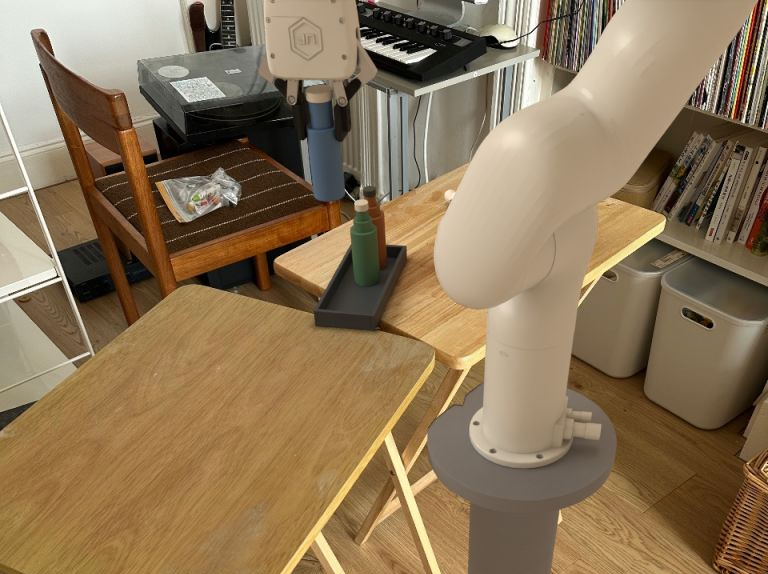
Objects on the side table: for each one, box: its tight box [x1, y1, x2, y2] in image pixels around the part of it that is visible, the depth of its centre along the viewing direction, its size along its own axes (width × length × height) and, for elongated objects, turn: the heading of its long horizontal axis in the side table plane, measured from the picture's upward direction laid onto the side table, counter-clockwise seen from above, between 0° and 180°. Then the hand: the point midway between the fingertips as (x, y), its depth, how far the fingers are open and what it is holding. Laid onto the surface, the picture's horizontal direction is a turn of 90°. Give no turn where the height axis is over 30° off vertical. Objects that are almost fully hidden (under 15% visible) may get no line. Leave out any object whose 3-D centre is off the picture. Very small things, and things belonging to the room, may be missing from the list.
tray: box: [312, 243, 408, 332], centre depth 122 cm, size 9×21×2 cm, turn 166°
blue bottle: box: [304, 84, 346, 202], centre depth 96 cm, size 4×4×12 cm
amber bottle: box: [362, 185, 387, 270], centre depth 123 cm, size 4×4×12 cm
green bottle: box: [349, 198, 380, 286], centre depth 120 cm, size 4×4×12 cm
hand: (323, 135), depth 96 cm, fingers closed on blue bottle, 4 cm apart
